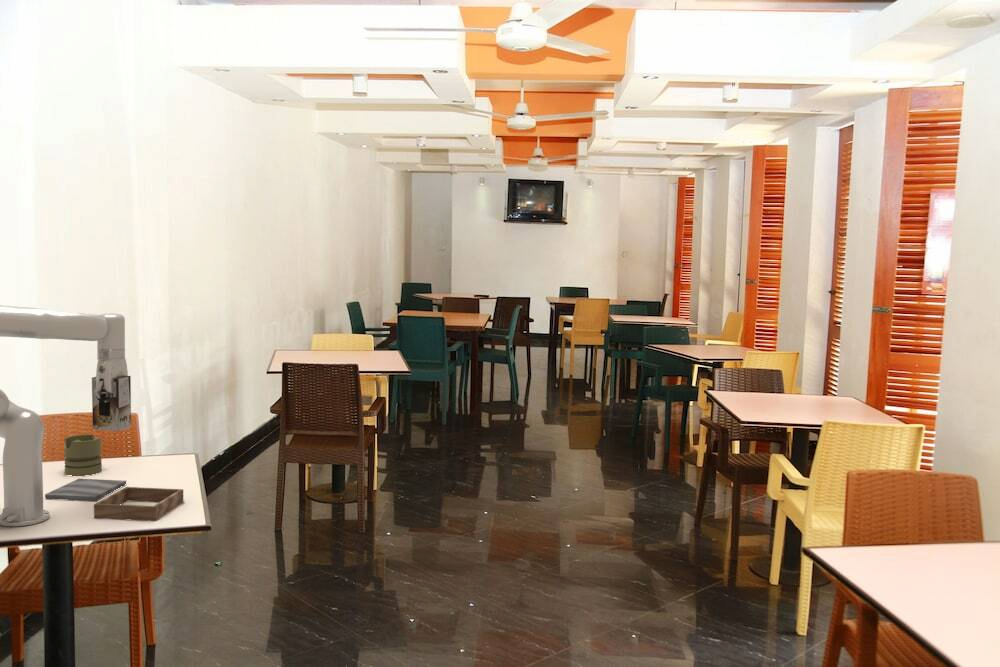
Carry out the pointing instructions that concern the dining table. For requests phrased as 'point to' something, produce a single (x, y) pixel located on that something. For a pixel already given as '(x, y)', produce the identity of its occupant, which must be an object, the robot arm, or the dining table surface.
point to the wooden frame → (138, 512)
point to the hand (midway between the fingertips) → (111, 412)
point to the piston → (82, 455)
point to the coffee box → (114, 406)
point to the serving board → (85, 489)
